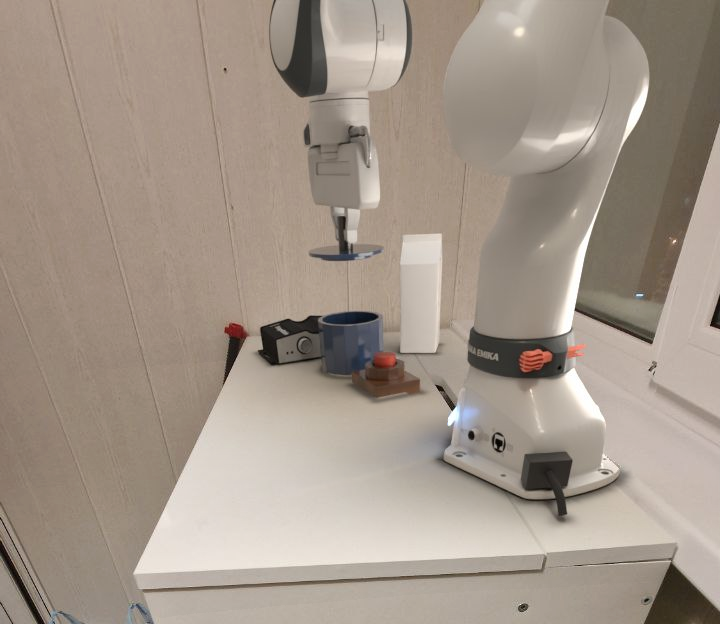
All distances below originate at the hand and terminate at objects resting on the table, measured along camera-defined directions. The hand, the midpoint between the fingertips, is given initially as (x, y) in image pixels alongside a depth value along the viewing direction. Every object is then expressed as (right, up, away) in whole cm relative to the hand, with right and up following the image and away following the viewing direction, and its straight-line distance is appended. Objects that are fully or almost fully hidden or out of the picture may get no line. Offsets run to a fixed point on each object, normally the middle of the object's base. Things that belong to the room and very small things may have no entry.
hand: (346, 241), depth 92 cm
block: (+7, -23, +3) cm, 24 cm away
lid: (0, -1, +1) cm, 2 cm away
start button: (+6, -20, +1) cm, 21 cm away
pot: (+1, -15, +13) cm, 20 cm away
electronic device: (-8, -6, +23) cm, 26 cm away
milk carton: (+14, -7, +21) cm, 27 cm away
